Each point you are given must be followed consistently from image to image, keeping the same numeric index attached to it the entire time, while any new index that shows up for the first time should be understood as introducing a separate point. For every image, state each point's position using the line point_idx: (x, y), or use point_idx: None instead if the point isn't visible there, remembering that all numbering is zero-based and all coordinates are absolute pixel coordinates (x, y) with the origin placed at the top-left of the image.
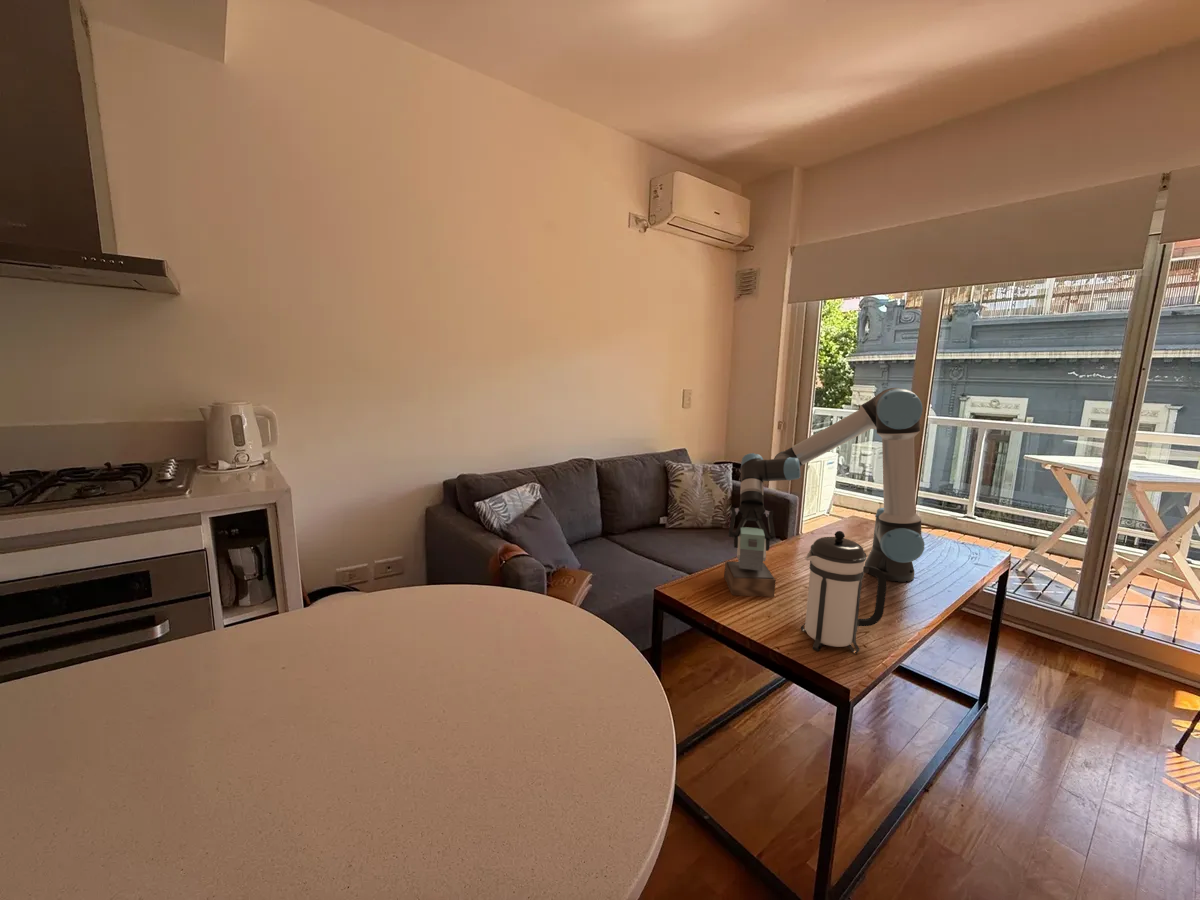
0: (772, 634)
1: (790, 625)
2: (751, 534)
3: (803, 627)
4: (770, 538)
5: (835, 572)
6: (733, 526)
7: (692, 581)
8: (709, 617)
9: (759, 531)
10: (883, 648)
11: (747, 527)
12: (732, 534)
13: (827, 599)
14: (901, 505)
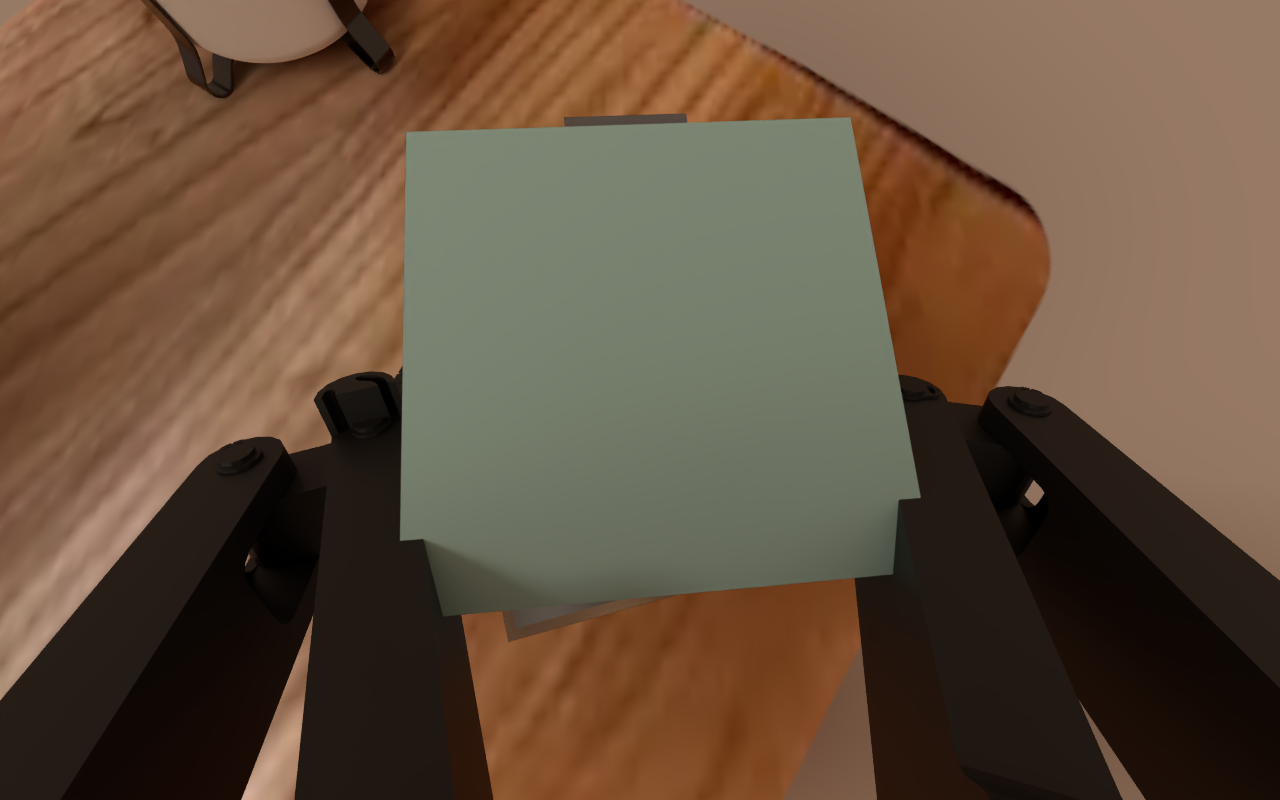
0: (522, 4)
1: (437, 91)
2: (664, 129)
3: (380, 67)
4: (329, 448)
5: None
6: (1085, 496)
7: None
8: (785, 63)
9: (498, 362)
10: (71, 17)
11: (772, 568)
12: (962, 408)
13: None
14: None
